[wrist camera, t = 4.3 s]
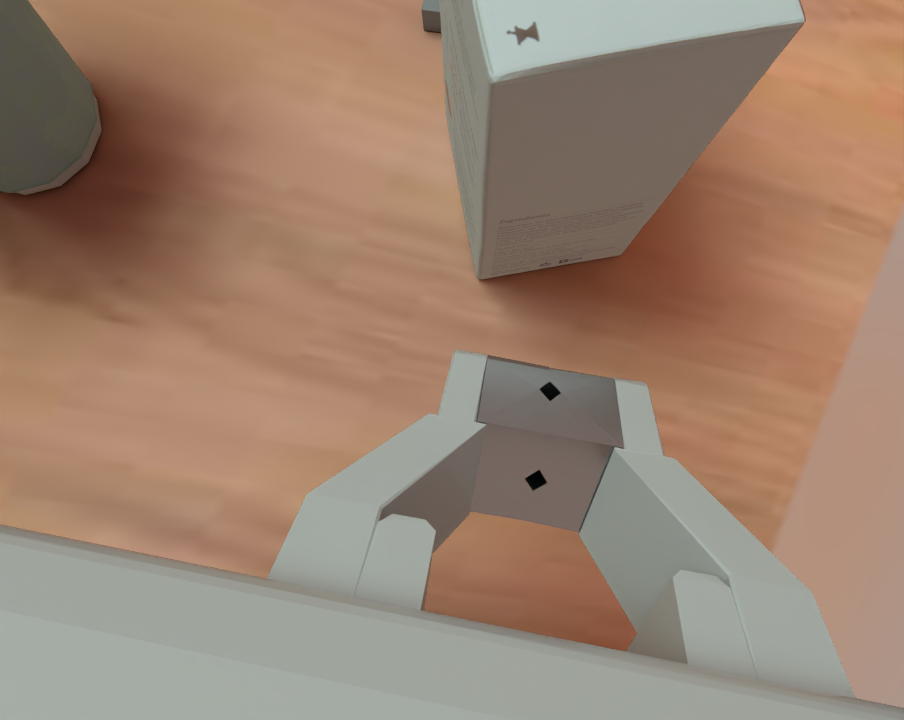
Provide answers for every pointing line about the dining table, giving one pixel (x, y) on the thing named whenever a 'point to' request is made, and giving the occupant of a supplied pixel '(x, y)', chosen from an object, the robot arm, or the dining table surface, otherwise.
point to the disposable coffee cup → (41, 105)
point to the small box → (590, 113)
